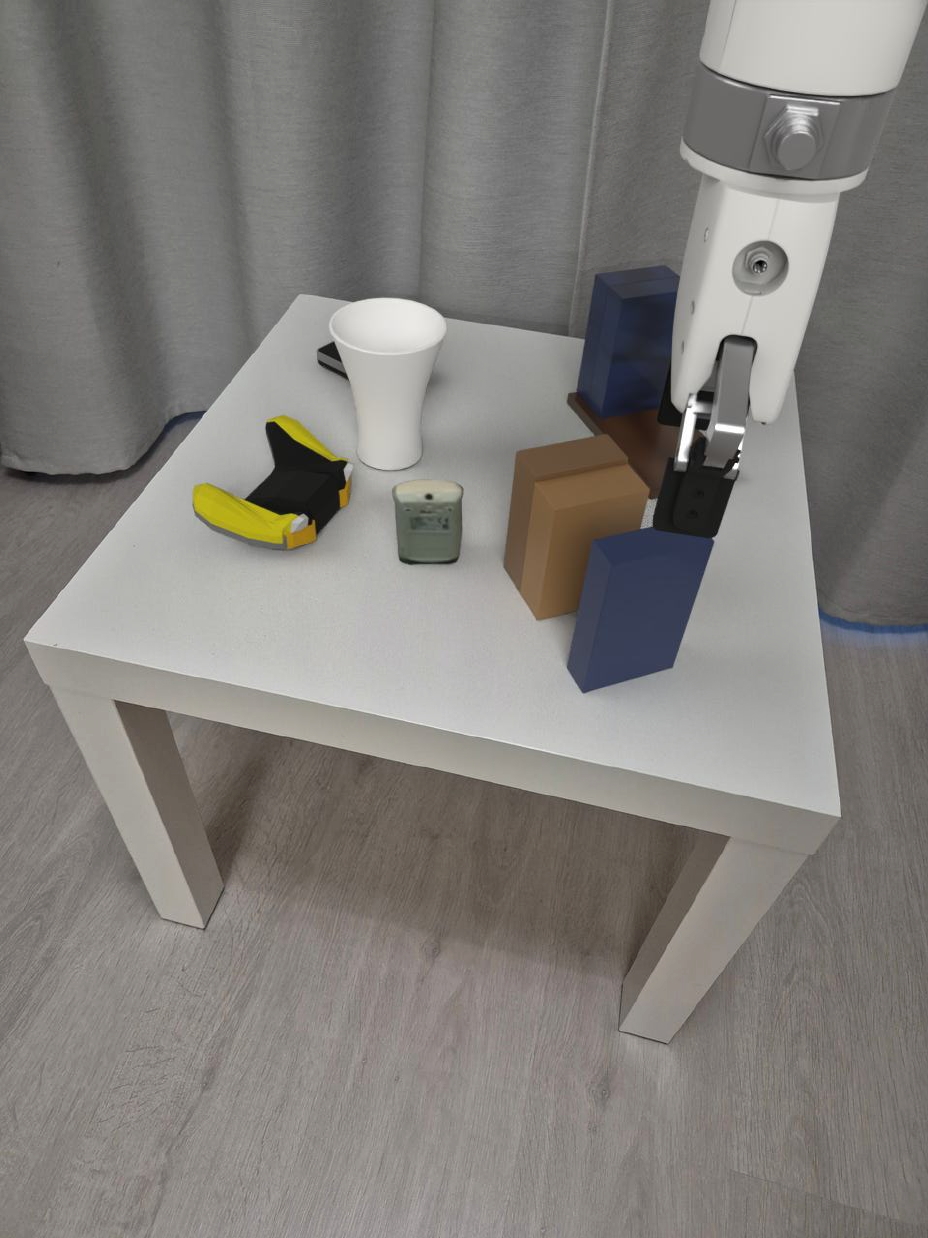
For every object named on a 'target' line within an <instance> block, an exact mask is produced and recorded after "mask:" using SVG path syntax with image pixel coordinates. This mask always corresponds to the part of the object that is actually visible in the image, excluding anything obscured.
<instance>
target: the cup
mask: <svg viewBox="0 0 928 1238" xmlns="http://www.w3.org/2000/svg"><path fill="white" fill-rule="evenodd" d="M328 330H329V332H330V334H331V337H332V339H333V341H334V342H335V344H336V347H337V349H338V352H339V354H340V357H341V360H342V362H343V365H344V368H345V370H346V373H347V376H348V378H349V379H348V381H349V384H350V388H351V392H352V397H353V401H354V406H355V411H356V412H355V413H356V420H357V429H358V430H357V444H356V455H357V457H358V458H359V459H360V461H361V462H362V463H364V464H365V465H366V466H369V467H371V468H373V469H377V470H383V471H398V470H403V469H407V468H410V467H411V466H414V465H415V464H416V463H417V462H419V461H420V460H421V458H422V455H423V442H422V431H421V430H422V429H421V428H422V417H423V408H424V403H425V398H426V395H427V393H426V392H427V388H428V384H429V381H430V379H431V376H432V373H433V372H434V371H433V370H434V367H435V365H436V362H437V360H438V356H439V354H440V352H441V349H442V346H443V343H444V340H445V338H446V335H447V332H448V323H447V321H446V320H445V318H444V316H443V315H442V314H441V313H440V312H439V311H438V310H436V309H435V308H434V307H431V306H429V305H427V304H425V303H422V302H418V301H415V300H412V299H411V300H410V299H405V298H400V297H374V298H373V297H372V298H365V299H361V300H357V301H354V302H351V303H349V304H346V305H344V306H342V307H341V308H339V309H338V310H336V311H335V312H334V314H333V315H332V316H331V317H330V319H329V322H328Z"/></svg>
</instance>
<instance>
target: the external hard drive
mask: <svg viewBox="0 0 928 1238" xmlns="http://www.w3.org/2000/svg"><path fill="white" fill-rule="evenodd" d="M316 360H317V363H318V365H319V366H321V367H323V368H324V369H327V370H328V371H331V372H333V373H335V374H336V375H339V376H340V377H343V378H345V379H347V380H349V378H348V376H347V373H346V370H345V368H344V365H343V362H342V360H341V357H340V354H339V352H338V349H337V347H336V344H335V342H334V340H332V341H330V342H328V343H326V344H324V345H322V346H319V347H318V348H317V349H316Z"/></svg>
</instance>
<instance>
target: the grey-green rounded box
mask: <svg viewBox="0 0 928 1238" xmlns="http://www.w3.org/2000/svg"><path fill="white" fill-rule="evenodd" d="M464 490H465V489H464V487H463V486H462V485H461V484H459V483H457V482H454V481H450V480H445V479H438V478H437V479H436V478H435V479H433V478H432V479H431V478H426V479H425V478H421V479H413V480H407V481H403V482H400V483H398V484H395V485H394V486H393V488H392V489H391V495H392V499H393V502H394V515H395V516H394V517H395V528H396V529H395V533H396V544H397V555H398V556H397V557H398V560H399V562H401V563H403V564H406V565H411V566H414V565H451V564H455V563H457V562H458V561H459V558H460V554H461V547H462V546H461V545H462V539H463V497H464Z"/></svg>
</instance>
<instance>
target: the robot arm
mask: <svg viewBox="0 0 928 1238" xmlns="http://www.w3.org/2000/svg"><path fill="white" fill-rule="evenodd" d="M927 6H928V0H710V2H709V7H708V11H707V14H706V15H707V17H706V21H705V26H704V33H703V36H702V38H701V43H700V44H701V45H700V48H699V53H698V56H699V57H698V59H697V63H696V68H695V74H694V78H693V82H692V86H691V87H692V88H691V93H690V98H689V102H688V107H687V111H686V117H685V121H684V126H683V132H682V135H681V139H680V144H679V155H680V157H681V158H682V160H683V161H685V162H686V163H687V164H688V166H690V167H691V168H693V169H694V170H695V171H698V172H700V173H702V176H701V180H700V184H699V188H698V193H697V195H696V196H697V197H696V200H695V206H694V210H693V214H692V218H691V219H692V220H691V223H690V229H689V231H688V238H687V240H686V241H687V242H686V246H685V250H684V256H683V261H682V267H681V271H680V275H679V276H680V282H679V287H678V293H677V299H676V307H675V315H674V324H673V336H672V356H671V359H670V363H669V367H668V371H667V376H666V380H665V384H664V388H663V392H662V396H661V401H660V405H659V409H658V413H657V421H658V422H659V423H660V424H662V425H668V426H675V427H680V432H679V438H678V443H677V449H676V455H675V458H672V457H668V461H667V464H666V468H665V472H664V476H663V480H662V484H661V487H660V491H659V495H658V498H656V503H655V507H654V511H653V514H652V523H651V524H652V526H653V528H654V529H655V530H658V531H663V532H670V533H677V534H683V535H690V536H696V537H703V538H712V539H714V538H715V537H716V536H717V535H718V534H719V531H720V528H721V525H722V521H723V519H724V516H725V513H726V509H727V507H728V504H729V500H730V498H731V495H732V492H733V488H734V487H735V486H734V485H735V483H736V481H737V480H736V477H737V474H738V470H739V466H740V461H741V456H742V450H743V444H744V439H745V435H746V428H747V424H748V417H749V413H750V412H751V417H752V422H758V423H761V425H762V426H770V425H771V424H773V423H775V421H777V420H778V419H779V417H780V415H781V412H782V409H783V406H784V403H785V401H786V396H787V393H788V390H789V388H790V383H791V381H792V377H793V374H794V371H795V368H796V364H797V361H798V357H799V354H800V351H801V347H802V343H803V342H804V341H803V340H804V337H805V334H806V330H807V327H808V325H809V321H810V318H811V314H812V311H813V307H814V303H815V300H816V297H817V294H818V290H819V286H820V283H821V280H822V275H823V273H824V267H825V264H826V262H827V261H826V260H827V257H828V252H829V249H830V246H831V245H830V244H831V241H832V235H833V232H834V227H835V222H836V219H837V213H838V207H839V202H840V197H841V193H843V192H848V191H851V190H853V189H856V188H858V187H859V186H861V185H862V183H863V182H865V180H866V177H867V174H868V172H869V170H870V169H869V168H870V165H871V163H872V161H873V158H874V155H875V152H876V149H877V147H878V144H879V141H880V138H881V135H882V133H883V130H884V127H885V124H886V121H887V119H888V116H889V113H890V110H891V107H892V104H893V101H894V99H895V97H896V93H897V90H898V87H899V83H900V81H901V79H902V76H903V73H904V71H905V68H906V65H907V63H908V59H909V57H910V54H911V50H912V48H913V45H914V42H915V39H916V36H917V34H918V31H919V28H920V25H921V23H922V20H923V17H924V15H925V12H926V9H927ZM750 410H751V411H750ZM695 429H696V430H699V431H704V432H706V435H705V437H698V439H697V440H696V441H695V442H694V443H693V445H692V441H693V435H694V430H695ZM735 480H736V481H735ZM652 526H651V527H652Z"/></svg>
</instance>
